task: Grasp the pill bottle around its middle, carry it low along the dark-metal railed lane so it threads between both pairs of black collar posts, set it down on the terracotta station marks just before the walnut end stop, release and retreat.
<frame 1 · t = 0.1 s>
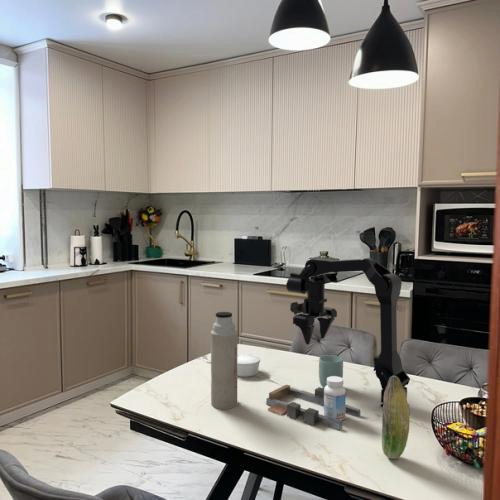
hand: (315, 341, 153), 15 cm above the table, fingers open, 9 cm apart
ramekin: (244, 373, 165), on the table
cup: (330, 388, 151), on the table
pill bottle: (334, 418, 129), on the table
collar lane: (312, 409, 134), on the table
vegetable: (394, 460, 107), on the table
thermos bottle: (224, 404, 138), on the table
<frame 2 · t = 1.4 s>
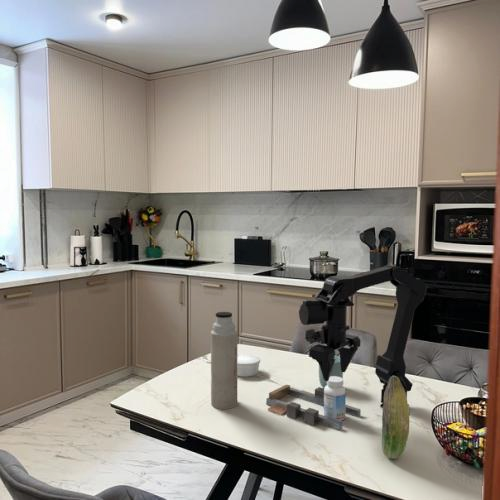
hand: (334, 376, 129), 12 cm above the table, fingers open, 9 cm apart
nothing on the table moved.
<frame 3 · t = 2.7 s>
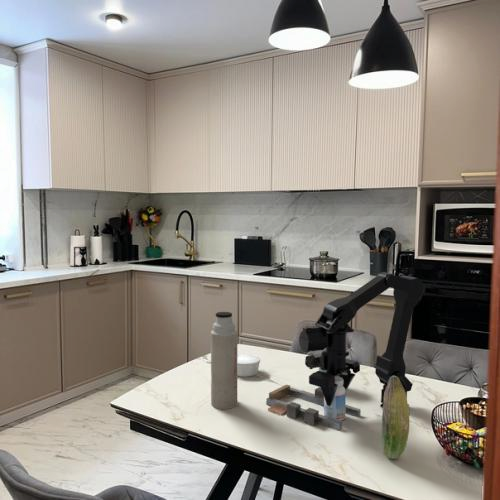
hand: (334, 401, 129), 5 cm above the table, fingers closed on pill bottle, 6 cm apart
pill bottle: (334, 417, 129), on the table, touching gripper
everything else where it was.
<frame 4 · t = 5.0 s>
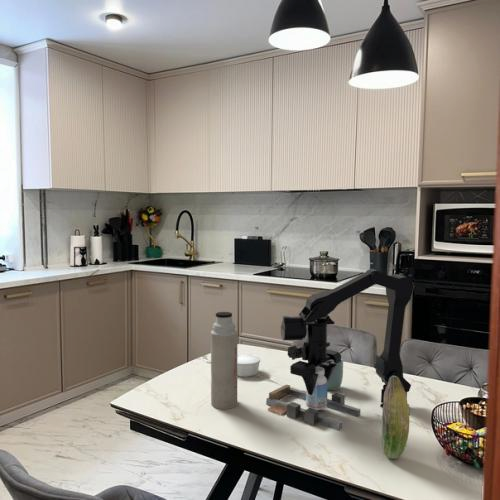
hand: (316, 391, 133), 6 cm above the table, fingers closed on pill bottle, 6 cm apart
pill bottle: (316, 406, 133), point 1 cm above the table, touching gripper
everything else where it was.
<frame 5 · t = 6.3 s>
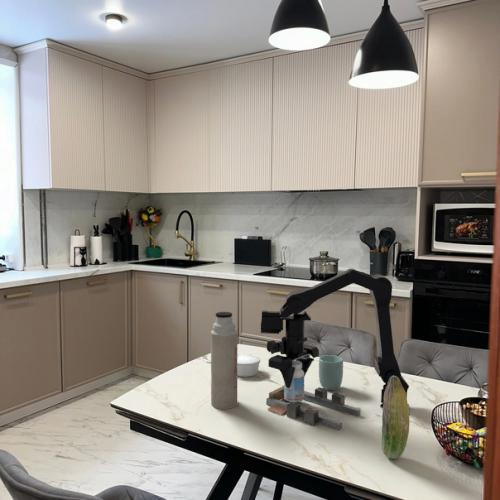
hand: (294, 384, 138), 6 cm above the table, fingers closed on pill bottle, 6 cm apart
pill bottle: (293, 399, 138), point 1 cm above the table, touching gripper
everything else where it was.
when the fingers open (5 cm above the table, at t = 7.6 s): pill bottle stays where it is, on the table.
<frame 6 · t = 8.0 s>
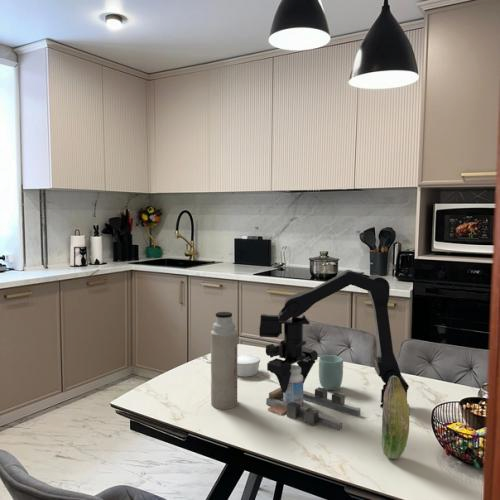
hand: (293, 387, 138), 5 cm above the table, fingers open, 9 cm apart
pill bottle: (293, 403, 139), on the table
everything else where it was.
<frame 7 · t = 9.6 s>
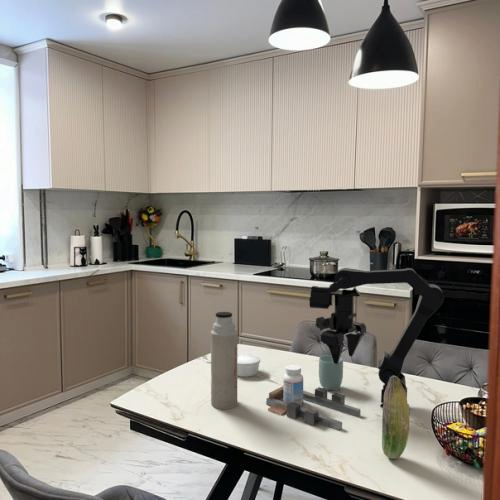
hand: (343, 359, 140), 13 cm above the table, fingers open, 9 cm apart
nothing on the table moved.
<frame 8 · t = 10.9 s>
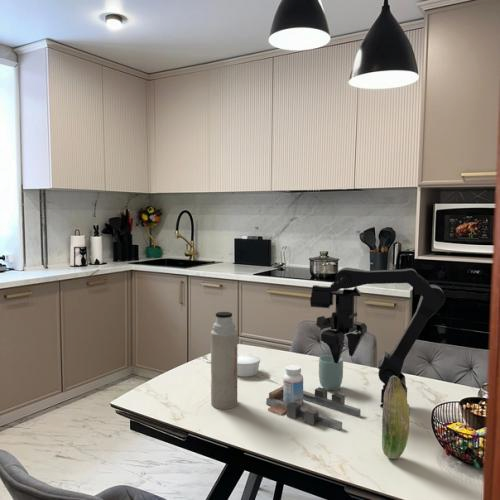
hand: (343, 359, 140), 13 cm above the table, fingers open, 9 cm apart
nothing on the table moved.
at the end: pill bottle 0.6 cm from the target spot, on the table; pill bottle tilted 0°; the gripper is holding nothing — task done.
